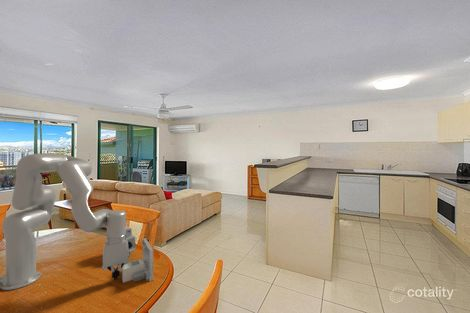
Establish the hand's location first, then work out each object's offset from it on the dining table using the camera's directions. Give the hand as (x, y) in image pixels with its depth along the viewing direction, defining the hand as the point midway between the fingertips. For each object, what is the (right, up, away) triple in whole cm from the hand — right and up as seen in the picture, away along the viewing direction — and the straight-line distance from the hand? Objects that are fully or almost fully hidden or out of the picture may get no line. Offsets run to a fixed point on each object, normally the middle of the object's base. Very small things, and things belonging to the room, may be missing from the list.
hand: (115, 278), depth 93 cm
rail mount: (+9, -2, +6) cm, 11 cm away
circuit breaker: (-9, -1, +23) cm, 25 cm away
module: (+6, -2, +4) cm, 7 cm away
